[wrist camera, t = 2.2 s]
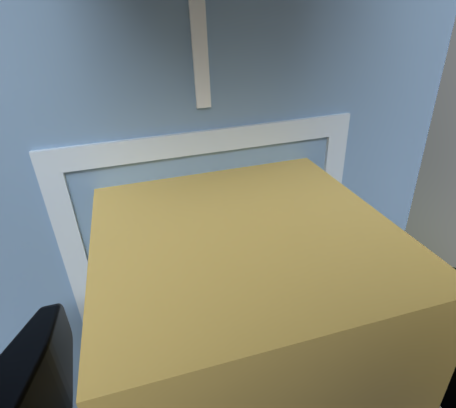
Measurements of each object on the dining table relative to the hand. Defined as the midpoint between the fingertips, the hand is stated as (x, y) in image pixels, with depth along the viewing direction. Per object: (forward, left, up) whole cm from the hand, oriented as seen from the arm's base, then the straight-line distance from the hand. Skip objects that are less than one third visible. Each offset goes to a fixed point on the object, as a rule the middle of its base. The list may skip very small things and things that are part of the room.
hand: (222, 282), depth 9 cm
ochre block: (0, 0, -1) cm, 1 cm away
